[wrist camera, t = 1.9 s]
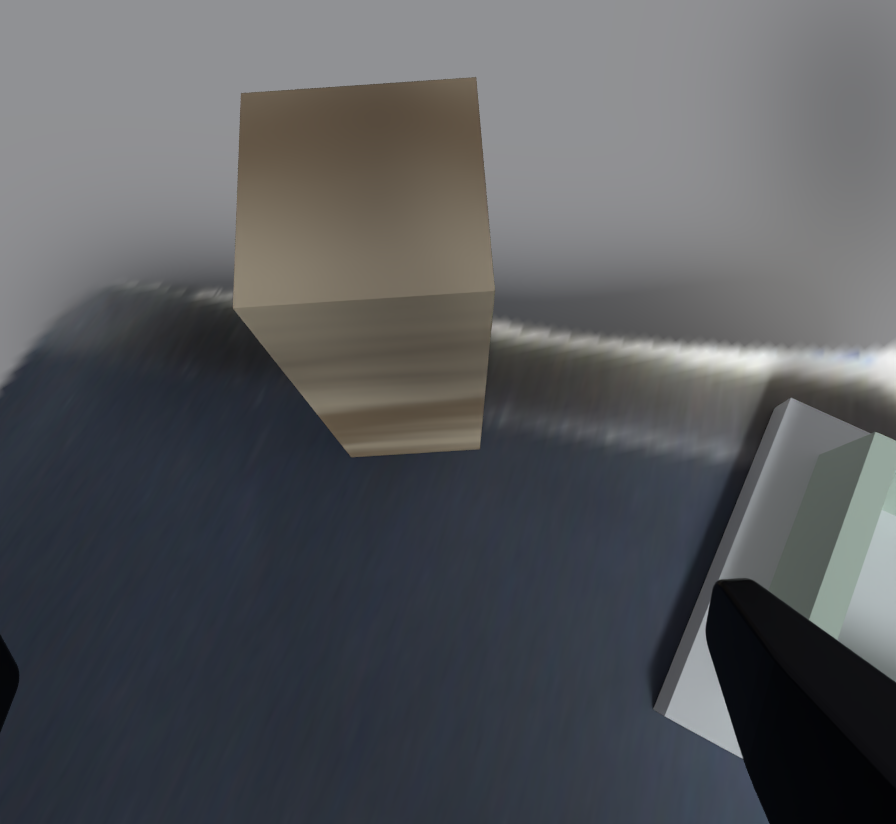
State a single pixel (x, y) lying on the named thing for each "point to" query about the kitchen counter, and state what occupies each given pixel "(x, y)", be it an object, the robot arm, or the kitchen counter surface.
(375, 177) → the brown box
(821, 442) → the caddy
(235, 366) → the kitchen counter surface
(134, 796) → the kitchen counter surface
